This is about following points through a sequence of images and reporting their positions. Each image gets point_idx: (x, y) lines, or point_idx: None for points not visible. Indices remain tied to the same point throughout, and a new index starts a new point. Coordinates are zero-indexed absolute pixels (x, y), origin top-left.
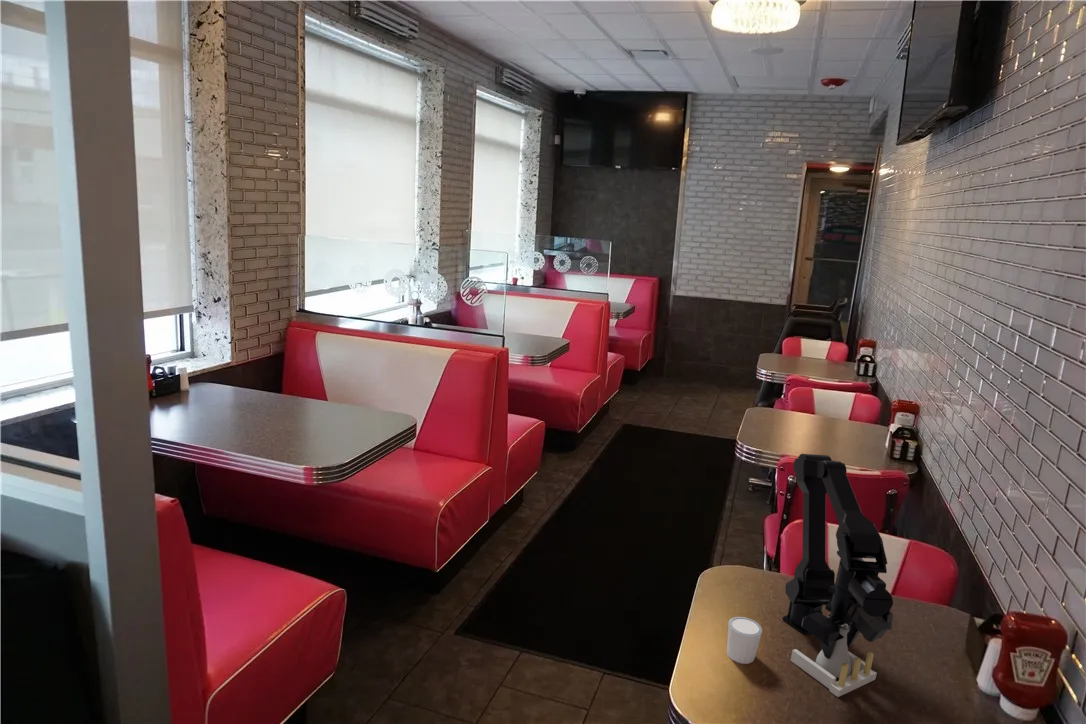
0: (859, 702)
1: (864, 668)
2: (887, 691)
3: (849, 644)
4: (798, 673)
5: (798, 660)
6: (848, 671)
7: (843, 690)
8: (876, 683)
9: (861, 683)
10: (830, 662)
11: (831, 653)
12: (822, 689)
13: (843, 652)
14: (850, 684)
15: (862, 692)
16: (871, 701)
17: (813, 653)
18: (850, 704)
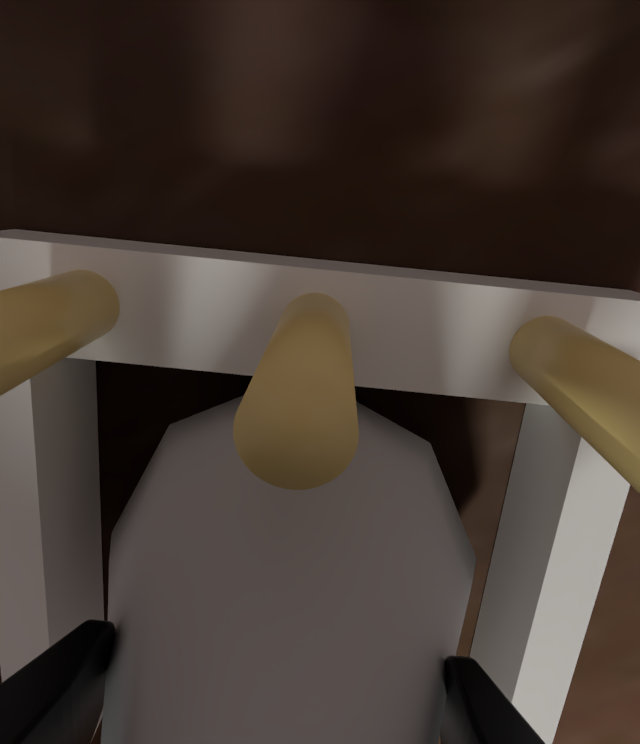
0: (518, 114)
1: (90, 338)
2: (58, 35)
3: (44, 716)
4: (590, 641)
5: None
6: None
7: (578, 291)
8: (58, 186)
9: (254, 256)
10: (442, 606)
11: (506, 734)
12: None
13: (321, 661)
14: (454, 292)
15: (332, 189)
16: (386, 43)
17: None
18: (633, 152)
